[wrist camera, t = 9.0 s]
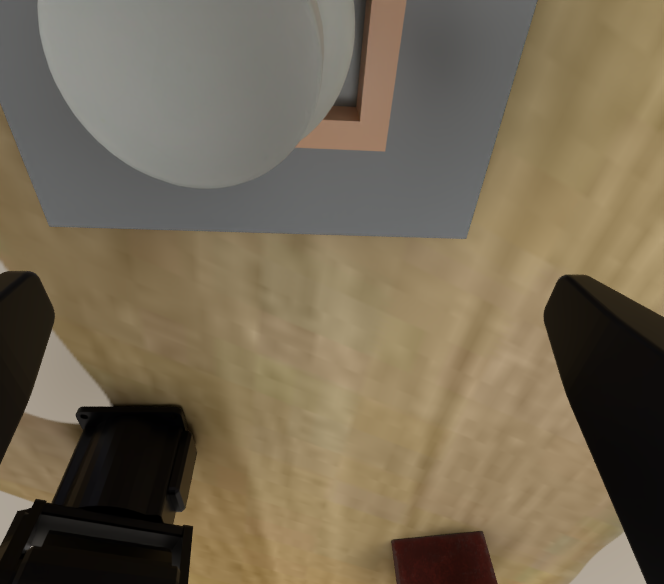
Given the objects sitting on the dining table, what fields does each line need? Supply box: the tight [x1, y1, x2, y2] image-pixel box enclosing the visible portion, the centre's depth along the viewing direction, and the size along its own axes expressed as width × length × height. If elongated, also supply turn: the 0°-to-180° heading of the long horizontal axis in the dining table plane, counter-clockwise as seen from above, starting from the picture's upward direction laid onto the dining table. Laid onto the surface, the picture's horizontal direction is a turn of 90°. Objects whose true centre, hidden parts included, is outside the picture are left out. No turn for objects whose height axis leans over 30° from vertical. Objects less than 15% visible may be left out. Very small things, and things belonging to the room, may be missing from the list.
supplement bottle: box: [37, 0, 355, 189], centre depth 10 cm, size 5×5×10 cm
